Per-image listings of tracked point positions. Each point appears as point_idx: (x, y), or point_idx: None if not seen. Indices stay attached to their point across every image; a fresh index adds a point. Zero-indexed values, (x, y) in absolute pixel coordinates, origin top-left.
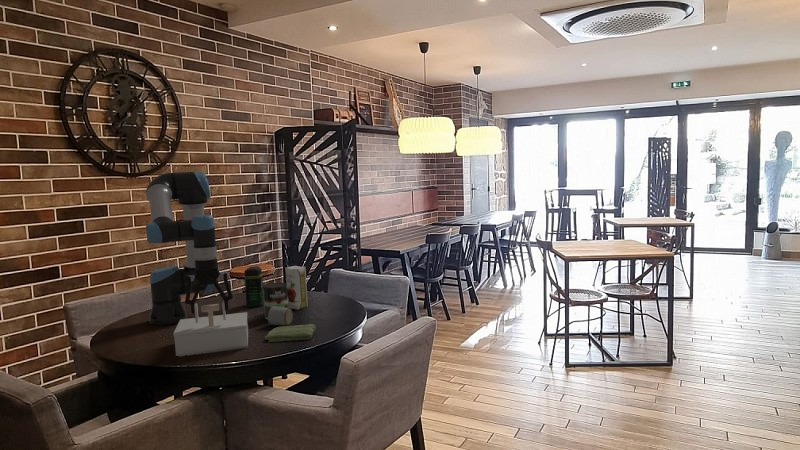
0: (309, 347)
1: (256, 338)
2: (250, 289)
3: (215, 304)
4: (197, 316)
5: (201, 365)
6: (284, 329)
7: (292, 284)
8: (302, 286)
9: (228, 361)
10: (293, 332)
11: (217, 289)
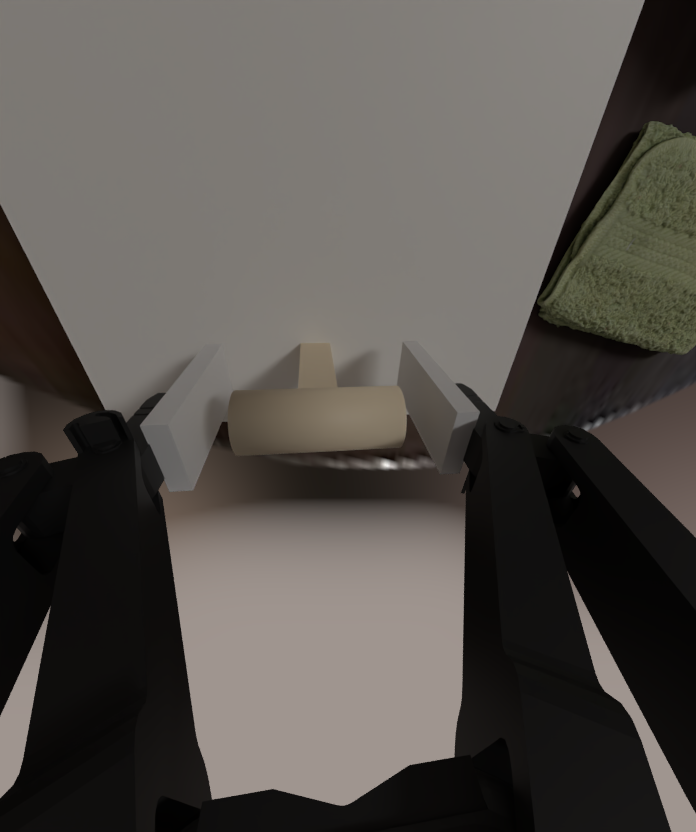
0: (606, 421)
1: None
2: None
3: (375, 444)
4: (221, 414)
5: (294, 463)
6: (665, 246)
7: None
8: None
9: (371, 456)
10: (658, 317)
11: (470, 629)
